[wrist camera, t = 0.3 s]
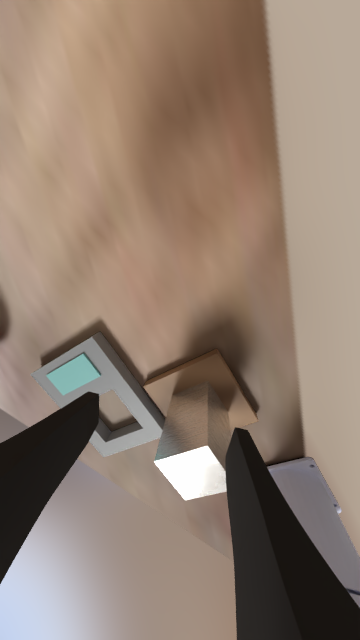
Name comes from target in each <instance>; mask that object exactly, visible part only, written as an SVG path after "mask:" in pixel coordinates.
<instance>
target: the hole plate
mask: <svg viewBox="0 0 360 640" xmlns="http://www.w3.org/2000/svg"><path fill="white" fill-rule="evenodd" d="M31 376H32V377H33V378H34V379H35V380H36V381H37V382H38V384H39V385H40V386H41V387H42V388H43V389H44V390H45V391H46V393H47V394H48V395H49V396H50V397H51V398H52V399H53V401H54V402H55V403H56V404H57V405H58V406H59V407H60V409H61V408H63V407H64V406H66V405H67V404H69V403H71V402H72V401H74V400H75V399H77V398H78V397H80V396H82V395H83V394H85V393H86V392H88V391H89V392H93V393H97V394H99V395H101V394H104V393H106V392H108V391H110V390H112V389H113V390H114V392H115V393H116V394H117V395H118V397H119V398H120V399H121V401H122V402H123V403H124V404H125V406H126V407H127V408H128V410H129V411H130V412H131V413H132V415H133V416H134V417H135V419H136V420H137V421H138V422H136V423H133V424H130V425H128V426H125V427H123V428H120V429H118V430H115V431H112V432H111V431H110V430H109V429H108V427H107V426H106V425H105V424H104V423H103V421H102V420H101V419H100V418H99V423H98V425H97V427H96V429H95V431H94V433H93V435H92V436H91V438H90V440H89V442H90V443H91V444H92V445H93V446H94V447H95V448H96V449H97V451H98V452H99V453H100V454H101V455H102V456H103V457H106V456H109V455H112V454H115V453H118V452H121V451H124V450H126V449H129V448H132V447H135V446H138V445H141V444H144V443H147V442H150V441H153V440H156V439H158V438H161V434H162V431H163V427H164V423H165V418H164V417H163V416H162V414H161V413H160V412H159V410H158V409H157V408H156V406H155V405H154V403H153V402H152V401H151V399H150V398H149V397H148V395H147V394H146V393H145V391H144V390H143V389H142V387H141V386H140V385H139V383H138V382H137V380H136V379H135V378H134V376H133V375H132V374H131V372H130V371H129V370H128V368H127V367H126V366H125V364H124V363H123V362H122V360H121V359H120V357H119V356H118V355H117V353H116V352H115V351H114V349H113V348H112V347H111V345H110V344H109V343H108V341H107V340H106V339H105V337H104V336H103V334H102V333H101V332H100V331H99V332H98V333H96V334H95V335H93V336H91V337H90V338H88V339H86V340H85V341H83V342H82V343H80V344H78V345H77V346H75V347H73V348H72V349H70V350H68V351H67V352H65V353H64V354H62V355H60V356H59V357H57V358H55V359H54V360H52V361H50V362H49V363H47V364H46V365H44V366H42V367H41V368H39V369H38V370H36V371H35V372H33V373H32V374H31Z"/></svg>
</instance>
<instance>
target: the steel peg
mask: <svg viewBox="0 0 360 640" xmlns="http://www.w3.org/2000/svg"><path fill="white" fill-rule="evenodd" d="M230 441H231V430H230V422H229V414H228V411H227V409H226V408H225V406H224V405H223V403H222V402H221V400H220V399H219V397H218V395H217V394H216V392H215V391H214V389H213V388H212V386H211V384H210V383H209V381H205V382H203V383H201V384H198V385H196V386H193V387H191V388H189V389H186V390H184V391H181V392H179V393H177V394H174V395H172V397H171V401H170V404H169V408H168V412H167V416H166V419H165V423H164V427H163V431H162V434H161V438H160V442H159V446H158V449H157V453H156V457H155V461H154V462H155V464H156V465H157V466H158V467H159V468H160V470H161V471H162V472H163V473H164V475H165V476H166V477H167V478H168V480H169V481H170V482H171V483H172V485H173V486H174V487H175V488H176V490H177V491H178V492H179V493H180V495H181V496H182V497H183V498H184V500H189V499H194V498H198V497H203V496H207V495H212V494H217V493H221V492H226V491H227V489H226V469H225V456H226V453H227V450H228V447H229V444H230Z"/></svg>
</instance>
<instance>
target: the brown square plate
mask: <svg viewBox="0 0 360 640" xmlns="http://www.w3.org/2000/svg"><path fill="white" fill-rule="evenodd" d="M205 381H209V383H210V384H211V386H212V388H213V389H214V391H215V392H216V394H217V395H218V397H219V399H220V400H221V402H222V403H223V405H224V406H225V408H226V409H227V411H228V414H229V422H230V430H233V429H235V427H236V428H239V427H242V426H245V425H249V424H252V423H255V422H258V418H257V414H256V412H255V411H254V409H253V407H252V406H251V404H250V402H249V401H248V399H247V397H246V396H245V394H244V392H243V391H242V389H241V387H240V386H239V384H238V382H237V381H236V379H235V377H234V376H233V374H232V372H231V371H230V369H229V367H228V366H227V364H226V362H225V361H224V359H223V357H222V356H221V354H220V352H219V351H218V349H215V350H212V351H210V352H208V353H206V354H204V355H202V356H199V357H197V358H195V359H193V360H191V361H189V362H186V363H184V364H182V365H180V366H178V367H176V368H173V369H171V370H169V371H167V372H165V373H163V374H161V375H158V376H156V377H154V378H152V379H150V380H148V381H146V382H145V384H144V386H143V387H144V389H145V390H146V391H147V393H148V394H149V395H150V397H151V398H152V399H153V401H154V402H155V403H156V405H157V406H158V408H159V409H160V410H161V412H162V413H163V414H164V416H165V417H166V416H167V412H168V408H169V404H170V401H171V397H172V395H174V394H177V393H179V392H181V391H184V390H186V389H189V388H191V387H193V386H196V385H198V384H201V383H203V382H205Z"/></svg>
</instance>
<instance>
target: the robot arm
mask: <svg viewBox="0 0 360 640" xmlns="http://www.w3.org/2000/svg"><path fill="white" fill-rule="evenodd" d="M98 423H99V394H97V393H93V392H89V391H88V392H86V393H85V394H83V395H82V396H80V397H78V398H77V399H75V400H74V401H72V402H71V403H69V404H67V405H66V406H64V407H63V408H61V409H59V410H58V411H56V412H55V413H53V414H51V415H50V416H48V417H46V418H45V419H43V420H41V421H40V422H38V423H36V424H35V425H33V426H31V427H29V428H28V429H26V430H24V431H22V432H21V433H19V434H17V435H15V436H13V437H11V438H10V439H8V440H6V441H4V442H2V443H0V584H1V582H2V580H3V578H4V576H5V575H6V573H7V571H8V569H9V567H10V566H11V564H12V562H13V560H14V559H15V557H16V555H17V553H18V552H19V550H20V548H21V546H22V545H23V543H24V541H25V539H26V538H27V536H28V534H29V532H30V531H31V529H32V527H33V525H34V524H35V522H36V521H37V519H38V517H39V515H40V514H41V512H42V510H43V509H44V507H45V505H46V504H47V502H48V501H49V499H50V498H51V496H52V494H53V493H54V492H55V490H56V489H57V487H58V486H59V484H60V483H61V481H62V480H63V479H64V477H65V476H66V474H67V473H68V471H69V470H70V468H71V467H72V465H73V464H74V463H75V461H76V460H77V458H78V457H79V455H80V454H81V452H82V451H83V449H84V448H85V446H86V445H87V443H88V442H89V440H90V438H91V436H92V435H93V433H94V431H95V429H96V427H97V425H98ZM225 469H226V489H227V498H228V508H229V517H230V526H231V535H232V544H233V556H234V569H235V570H234V571H235V593H236V622H237V640H360V557H359V555H358V553H357V551H356V549H355V547H354V545H353V543H352V541H351V539H350V537H349V535H348V533H347V531H346V529H345V527H344V525H343V523H342V521H341V519H340V517H339V515H338V513H340V512H341V511H342V510H341V508H340V506H339V504H338V502H337V501H336V499H335V497H334V495H333V493H332V492H331V490H330V488H329V486H328V484H327V483H326V481H325V479H324V477H323V475H322V474H321V472H320V470H319V468H318V466H317V465H316V463H315V461H314V459H313V458H311V457H305V458H301V459H297V460H293V461H288V462H284V463H280V464H276V465H272V466H268V467H267V466H266V465H265V463H264V461H263V459H262V457H261V455H260V453H259V451H258V449H257V447H256V445H255V443H254V441H253V439H252V437H251V435H250V433H249V432H248V430H244V429H240V428H236V427H235V429H234V432H233V435H232V438H231V441H230V444H229V447H228V450H227V453H226V456H225Z"/></svg>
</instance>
